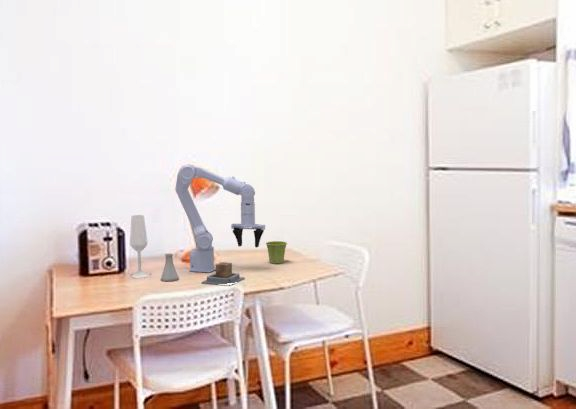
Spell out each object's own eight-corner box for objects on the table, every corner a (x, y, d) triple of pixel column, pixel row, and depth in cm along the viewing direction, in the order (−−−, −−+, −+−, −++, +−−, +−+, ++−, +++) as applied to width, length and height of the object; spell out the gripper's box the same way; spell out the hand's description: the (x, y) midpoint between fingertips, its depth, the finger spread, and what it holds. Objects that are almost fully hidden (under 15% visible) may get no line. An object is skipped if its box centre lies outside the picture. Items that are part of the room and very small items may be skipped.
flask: (162, 282, 213) (162, 256, 212) (158, 278, 220) (157, 253, 219) (181, 280, 217) (180, 254, 216) (176, 276, 223) (175, 251, 222)
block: (216, 280, 214) (215, 264, 213) (221, 277, 218) (221, 262, 217) (226, 281, 212) (226, 265, 212) (232, 278, 216) (231, 262, 216)
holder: (201, 283, 211) (201, 277, 211) (216, 276, 222) (216, 271, 222) (230, 286, 207) (230, 280, 207) (244, 278, 218) (244, 273, 218)
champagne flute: (131, 274, 228) (129, 215, 226) (148, 273, 230) (146, 214, 227) (131, 278, 221) (128, 217, 219) (148, 277, 223) (146, 216, 221)
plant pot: (291, 261, 250) (291, 242, 249) (279, 265, 242) (279, 245, 241) (273, 259, 255) (273, 240, 254) (261, 263, 247) (261, 243, 246)
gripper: (227, 214, 233) (228, 247, 234) (260, 215, 227) (260, 249, 229) (235, 212, 239) (235, 244, 240) (267, 213, 234) (267, 246, 235)
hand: (248, 246), depth 235 cm, fingers open, 7 cm apart
